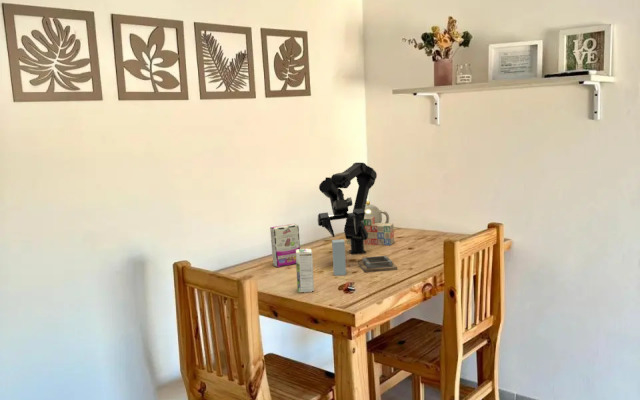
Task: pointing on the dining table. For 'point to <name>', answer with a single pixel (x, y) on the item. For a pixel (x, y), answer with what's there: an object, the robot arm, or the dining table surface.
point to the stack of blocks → (377, 232)
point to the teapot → (375, 213)
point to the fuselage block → (339, 257)
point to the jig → (377, 264)
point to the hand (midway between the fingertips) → (345, 235)
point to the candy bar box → (284, 244)
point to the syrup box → (304, 270)
